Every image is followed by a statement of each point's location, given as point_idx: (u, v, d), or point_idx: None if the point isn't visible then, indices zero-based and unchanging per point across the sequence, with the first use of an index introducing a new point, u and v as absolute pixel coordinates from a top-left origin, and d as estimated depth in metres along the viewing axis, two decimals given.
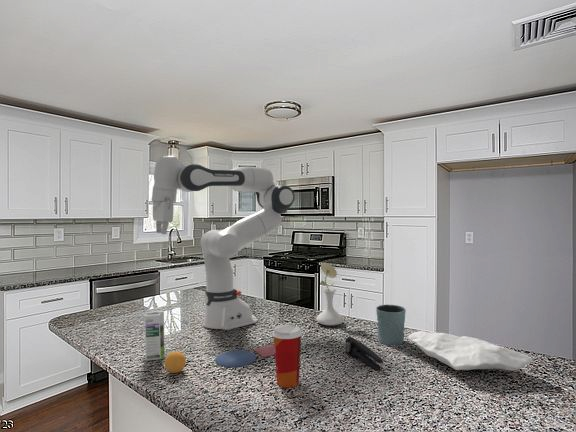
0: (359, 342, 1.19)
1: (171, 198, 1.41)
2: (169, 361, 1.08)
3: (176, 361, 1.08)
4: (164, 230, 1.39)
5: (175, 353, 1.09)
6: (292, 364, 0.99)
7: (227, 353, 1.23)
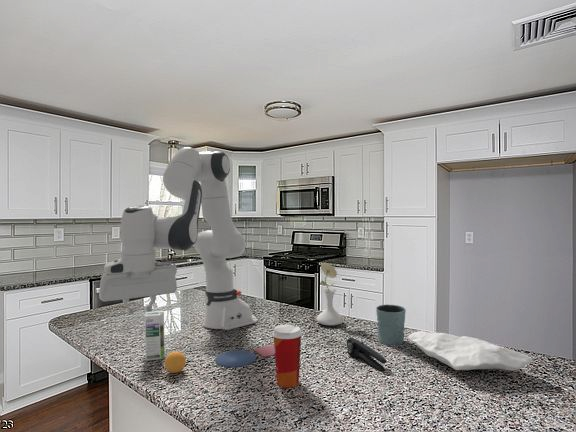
0: (361, 343, 1.18)
1: None
2: (169, 361, 1.08)
3: (176, 361, 1.08)
4: None
5: (175, 353, 1.09)
6: (292, 364, 0.99)
7: (227, 353, 1.23)
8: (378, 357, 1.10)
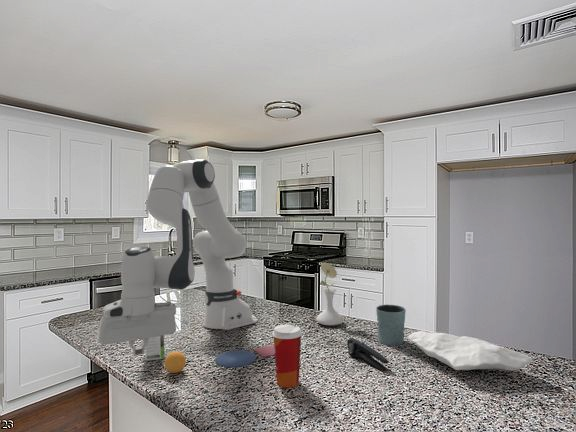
0: (362, 343, 1.18)
1: None
2: (169, 361, 1.08)
3: (176, 361, 1.08)
4: None
5: (175, 353, 1.09)
6: (292, 364, 0.99)
7: (227, 353, 1.23)
8: (380, 357, 1.10)
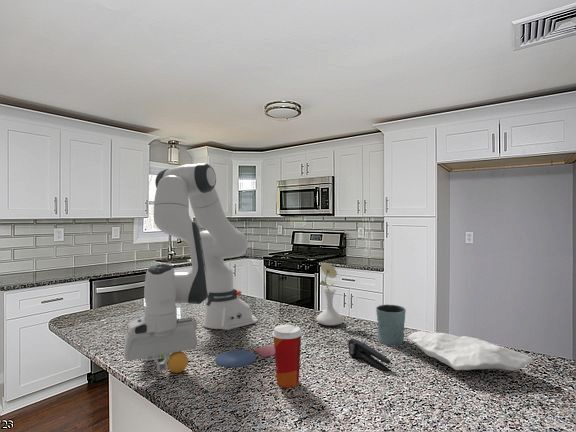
0: (363, 343, 1.18)
1: None
2: (172, 360, 1.08)
3: (179, 361, 1.08)
4: None
5: (179, 353, 1.10)
6: (292, 364, 0.99)
7: (227, 353, 1.23)
8: (382, 358, 1.10)
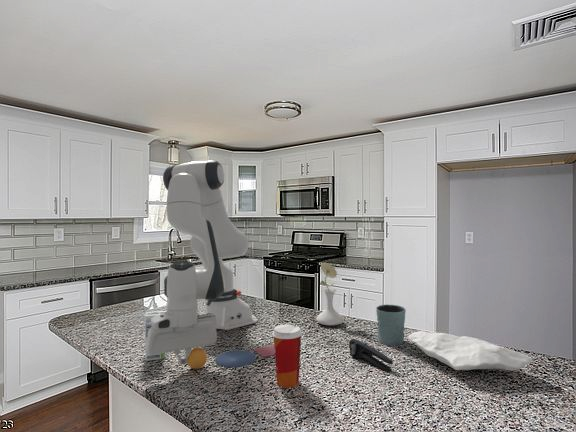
0: (365, 344, 1.17)
1: None
2: (198, 352, 1.11)
3: (202, 358, 1.11)
4: None
5: (205, 352, 1.13)
6: (292, 364, 0.99)
7: (227, 353, 1.23)
8: (384, 358, 1.10)
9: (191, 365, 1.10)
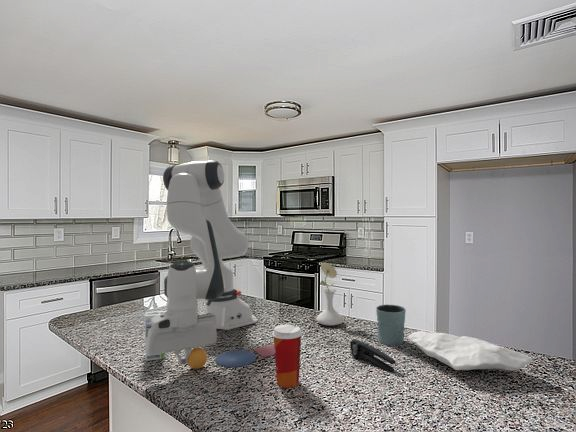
0: (367, 344, 1.17)
1: None
2: (198, 352, 1.11)
3: (202, 358, 1.11)
4: None
5: (205, 352, 1.13)
6: (292, 364, 0.99)
7: (227, 353, 1.23)
8: (387, 358, 1.10)
9: (191, 365, 1.10)
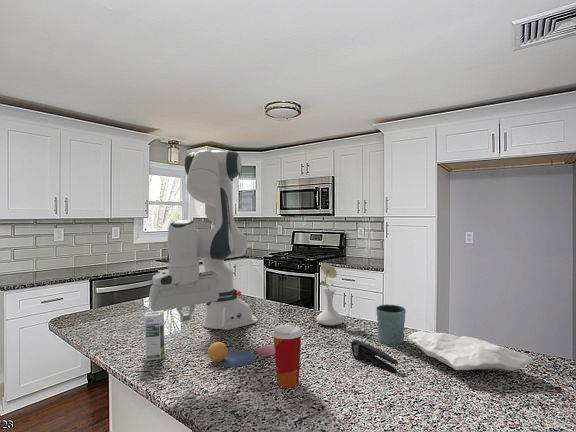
0: (368, 345, 1.17)
1: None
2: None
3: (223, 356, 1.15)
4: None
5: (219, 361, 1.16)
6: (292, 364, 0.99)
7: (227, 353, 1.23)
8: (389, 358, 1.09)
9: (221, 344, 1.17)
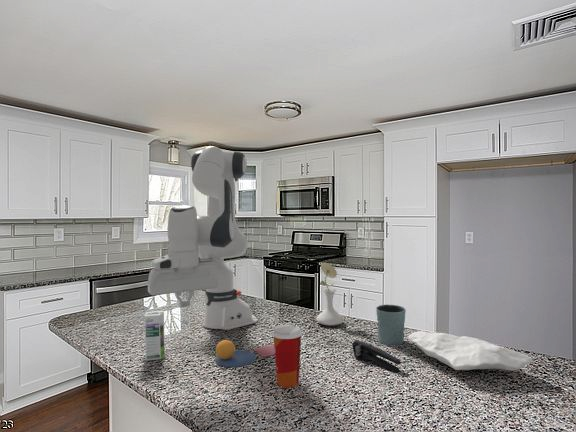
0: (370, 345, 1.16)
1: None
2: None
3: (229, 354, 1.17)
4: None
5: (221, 356, 1.17)
6: (292, 364, 0.99)
7: None
8: (392, 358, 1.09)
9: None
